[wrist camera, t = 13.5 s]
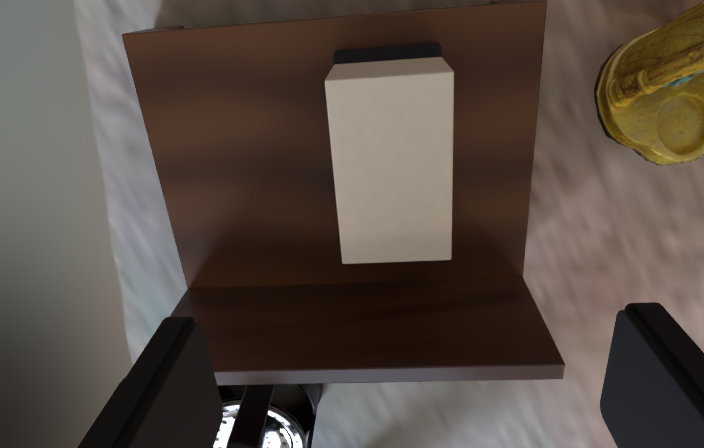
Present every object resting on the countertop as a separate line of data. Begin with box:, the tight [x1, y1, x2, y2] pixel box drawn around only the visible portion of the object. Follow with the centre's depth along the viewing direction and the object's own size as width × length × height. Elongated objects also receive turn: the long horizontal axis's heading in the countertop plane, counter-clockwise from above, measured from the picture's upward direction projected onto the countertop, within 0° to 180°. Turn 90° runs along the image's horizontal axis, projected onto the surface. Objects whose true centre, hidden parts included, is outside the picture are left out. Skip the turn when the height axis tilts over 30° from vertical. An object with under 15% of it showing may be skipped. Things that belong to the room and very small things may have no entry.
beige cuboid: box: [325, 43, 454, 264], centre depth 25 cm, size 12×5×6 cm, turn 4°
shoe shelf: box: [122, 0, 565, 385], centre depth 27 cm, size 17×22×12 cm
